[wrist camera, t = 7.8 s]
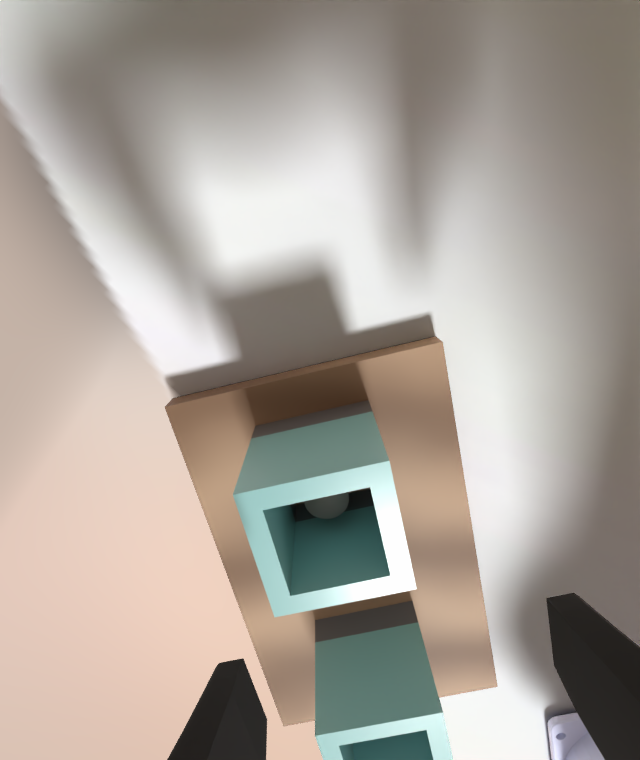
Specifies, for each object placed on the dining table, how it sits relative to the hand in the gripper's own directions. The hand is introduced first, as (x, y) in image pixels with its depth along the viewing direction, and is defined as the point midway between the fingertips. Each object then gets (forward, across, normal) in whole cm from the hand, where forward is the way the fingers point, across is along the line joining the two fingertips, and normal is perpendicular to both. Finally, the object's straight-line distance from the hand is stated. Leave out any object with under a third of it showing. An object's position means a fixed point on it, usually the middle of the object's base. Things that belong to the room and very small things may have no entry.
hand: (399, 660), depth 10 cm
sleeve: (+8, +1, -1) cm, 8 cm away
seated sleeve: (+8, +1, +9) cm, 12 cm away
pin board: (+9, +1, +4) cm, 10 cm away
